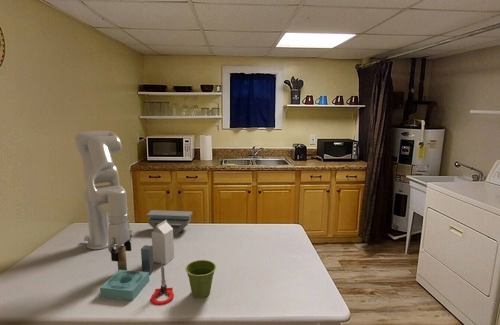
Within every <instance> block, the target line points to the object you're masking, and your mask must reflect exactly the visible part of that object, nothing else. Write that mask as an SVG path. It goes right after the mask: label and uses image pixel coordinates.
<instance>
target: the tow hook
mask: <svg viewBox="0 0 500 325" xmlns="http://www.w3.org/2000/svg"><path fill="white" fill-rule="evenodd" d="M160 266H161V267H160V272H161V274H160V275H161V277H160V278H161V280H160V282H161V283H160V288H155V289H154V293H153V294H151V297H150V301H151V303H152V304H153V305H156V306H162V305H163V306H164V305H166V304H168V303H170V302H171V301H173V300H174V297H175V296H174V292H173V287H168V286H167V283H166V275H165V267H164V264H163V262H162V263H160ZM161 293H165V294H167V295H169V297H168V298H167V299H165V300H158V299H156V298H157V296H159V295H161Z"/></svg>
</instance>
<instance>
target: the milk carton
mask: <svg viewBox="0 0 500 325" xmlns="http://www.w3.org/2000/svg"><path fill="white" fill-rule="evenodd" d="M151 246H153V263H159V264H161V263H162V262H163V265H167V264H168V263H169V262H171V260H173V259H174V258H175V248H174V233H173V228H172V227H171V226H170V225H169V224H168V223H167V220H165V221H163V222H162V223H160V224H158V225H157V226H156V229H153V230H152V231H151Z"/></svg>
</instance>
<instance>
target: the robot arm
mask: <svg viewBox="0 0 500 325" xmlns="http://www.w3.org/2000/svg"><path fill="white" fill-rule="evenodd" d="M74 142H75V146H76V148H77V151H78V153H79V154H80V157H81V159H82V169H83V176H84V180H85V182H86V184H87V185H86V186H87V188H86V189H85V190H84V192H83V200H84V203H85V208H86V212H87V213H86V214H87V225H88V234H89V235H87V234H86V235H84V238H83V241H85V242H86V241H87V244H86V248H87V249H90V250H103V249H105V248H107V249H108V252H109V253H110V256H111V257H110V258H111V261H112V262H117V261H119V252H118V248H119V247H120V246H125V249H126V252H132V238H133V236H132V235H133V230H132V229H131V227H130V221H129V210H128V209H129V208H128V200H127V198H128V197H127V196H128V195H127V191H126V190H125V188H124V187H123V186H122V185H121V184H120V177H119V176H120V175H119V171H118V168H117V166H116V165H115V163H114V160H113V157H112V154H117V153H120V152H121V151H122V149H123V145H122V140H121V138H120V136H119V135H117V134H116V133H115V132H114V131H111V130H94V131H93V130H92V131H91V130H90V131H81V132H78V133H76V135H75V137H74ZM105 183H108V184H105ZM97 184H104V185H98V186H97ZM104 205H107V207H108V208H107V209H106V208H105V207H104Z"/></svg>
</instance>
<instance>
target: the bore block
mask: <svg viewBox="0 0 500 325" xmlns="http://www.w3.org/2000/svg"><path fill="white" fill-rule="evenodd" d="M149 282H150V275H149V272H142V271H139V270H137V271H136V270H128V269H127V270H118V269H117V271H116V272H115V273H114V274H113V275H112V276H111V277H109V278H108V280H107V281H105V282H104V283H103V284H102V285H101V286H100V287H99V291H100V298H107V299H115V300H116V299H117V300H125V301H134V300H135V299H136V298H137V296H138V295H139V294H140V293H141V292H142V290H143V289H144V288H145V287H146V286H147V284H148V283H149Z"/></svg>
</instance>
